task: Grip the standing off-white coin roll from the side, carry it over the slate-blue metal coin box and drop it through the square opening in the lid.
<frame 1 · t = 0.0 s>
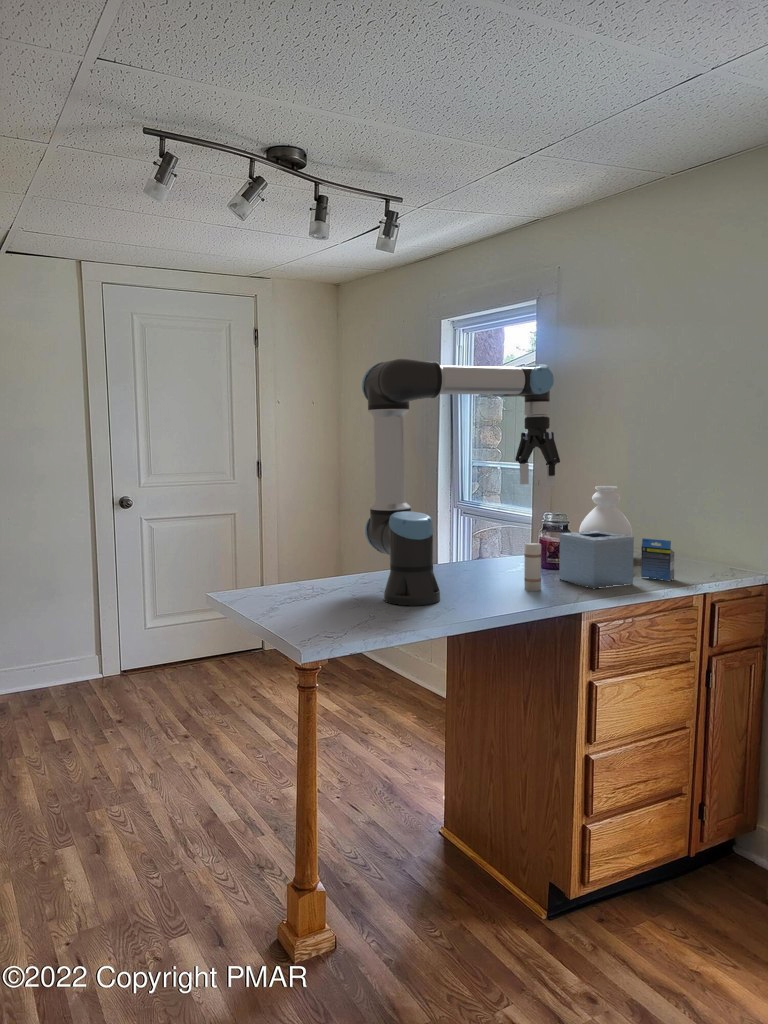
hand: (536, 485, 228), 28 cm above the kitchen counter, tool pointing down, fingers open, 13 cm apart
decorative vase: (605, 558, 259), on the kitchen counter
coin box: (595, 581, 218), on the kitchen counter
coin roll: (532, 589, 210), on the kitchen counter
label tape box: (657, 579, 221), on the kitchen counter
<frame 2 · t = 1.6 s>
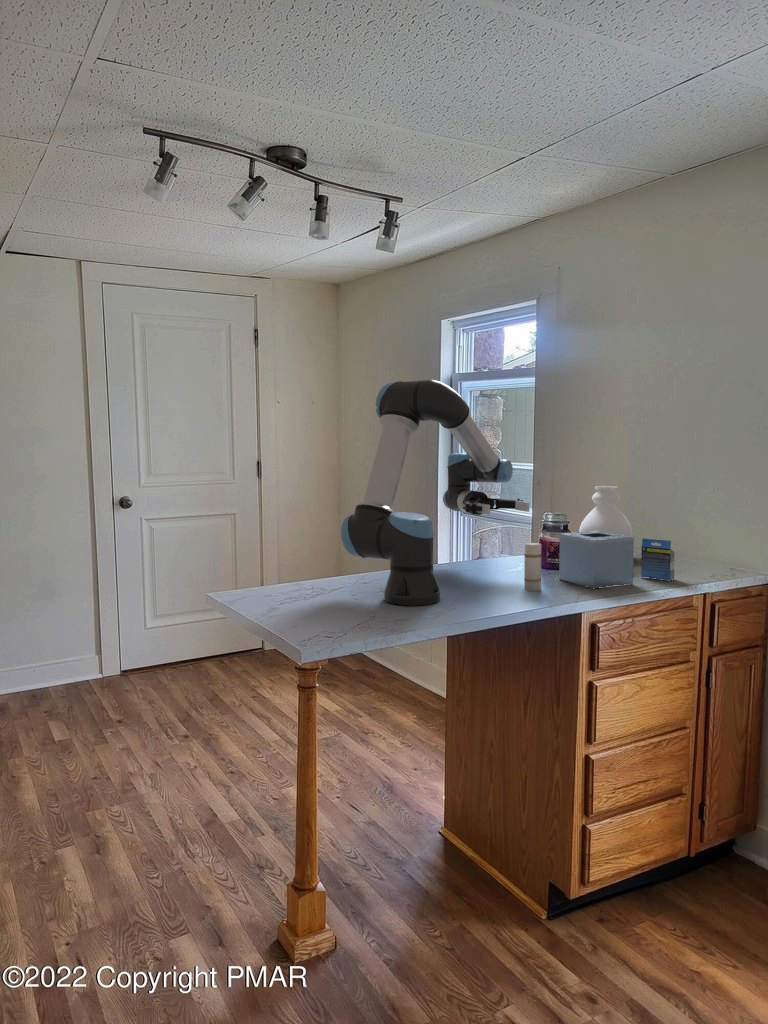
hand: (508, 508, 219), 22 cm above the kitchen counter, tool horizontal, fingers open, 13 cm apart
nothing on the kitchen counter moved.
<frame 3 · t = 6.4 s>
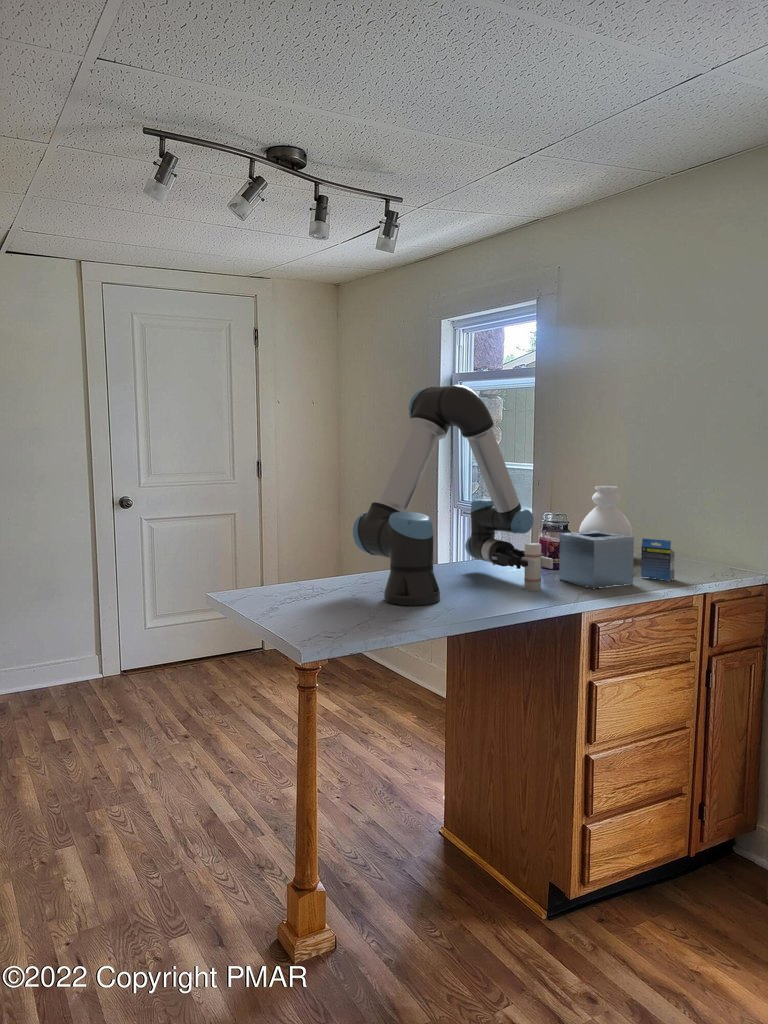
hand: (543, 564, 204), 8 cm above the kitchen counter, tool horizontal, fingers closed on coin roll, 4 cm apart
coin roll: (532, 589, 210), on the kitchen counter, touching gripper
everything else where it was.
when the fingers open (23 cm above the kitchen counter, at t = 10.2 s): coin roll drops 14 cm, resting on coin box.
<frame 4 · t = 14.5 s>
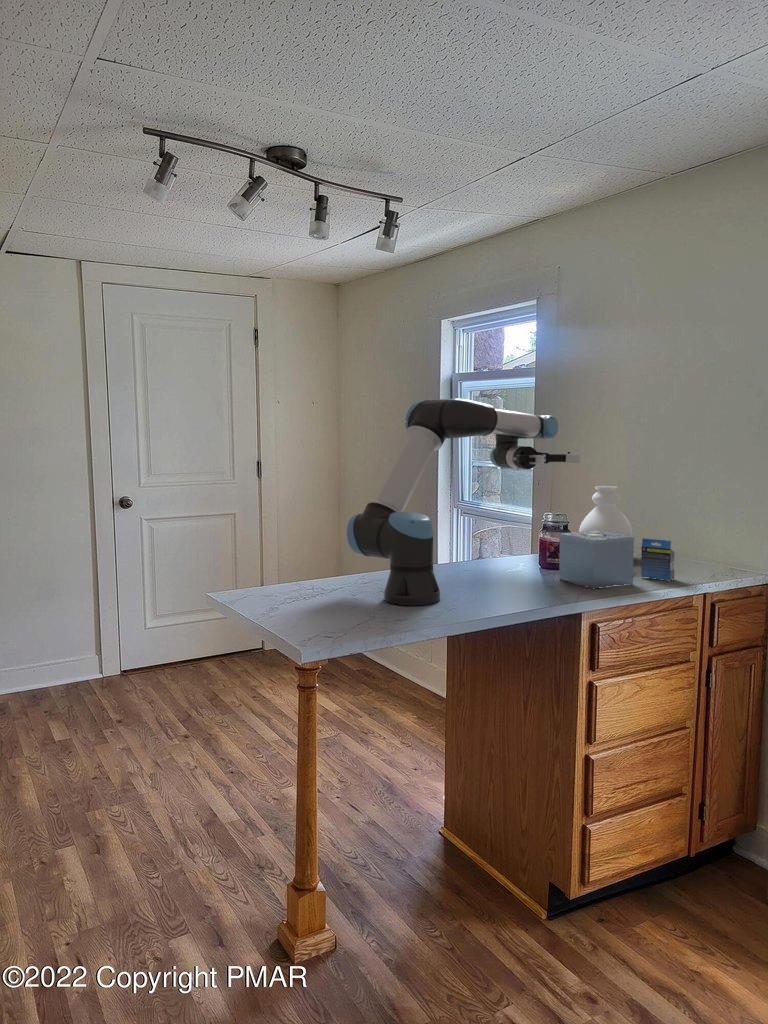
hand: (561, 459, 225), 36 cm above the kitchen counter, tool horizontal, fingers open, 13 cm apart
coin roll: (594, 578, 218), point 1 cm above the kitchen counter, touching coin box
everything else where it was.
at the end: coin roll inside the target area on the coin box (0.4 cm from its centre), point 1.0 cm above the coin box's base; the gripper is holding nothing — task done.
